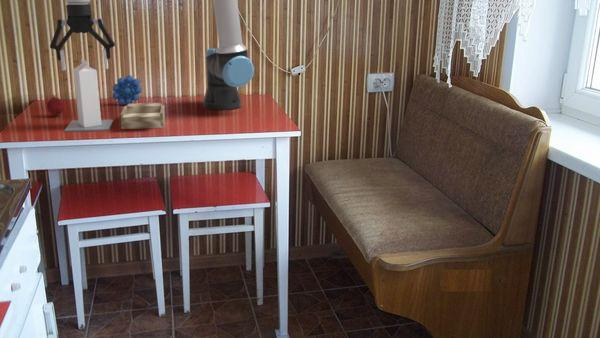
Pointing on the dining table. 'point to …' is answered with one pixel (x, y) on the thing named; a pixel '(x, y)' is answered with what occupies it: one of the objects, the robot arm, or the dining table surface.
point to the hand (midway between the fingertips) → (85, 69)
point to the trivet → (76, 127)
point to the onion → (55, 106)
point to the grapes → (126, 90)
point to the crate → (143, 116)
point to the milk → (87, 95)
